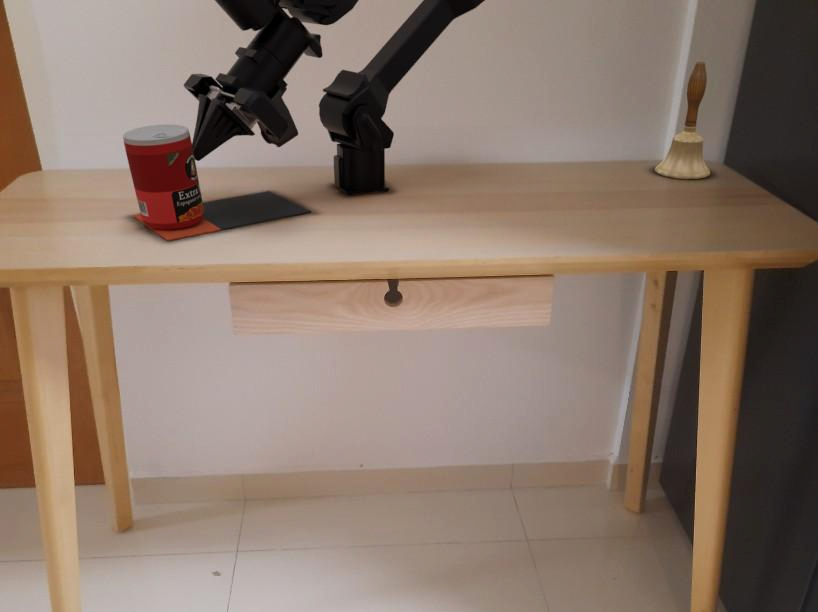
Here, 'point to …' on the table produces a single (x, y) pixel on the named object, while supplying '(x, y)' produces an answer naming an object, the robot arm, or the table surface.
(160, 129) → the canned food
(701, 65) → the hand bell
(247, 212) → the mat
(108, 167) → the table surface
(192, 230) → the pad
